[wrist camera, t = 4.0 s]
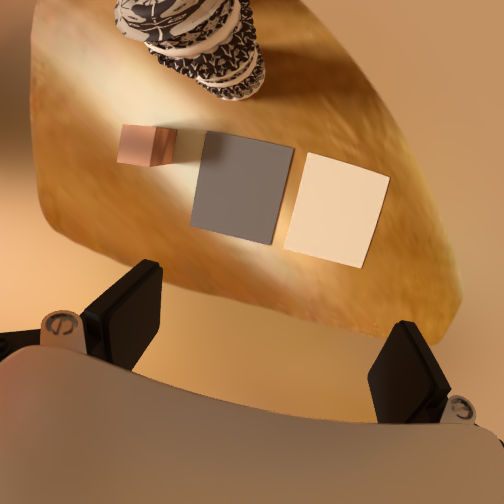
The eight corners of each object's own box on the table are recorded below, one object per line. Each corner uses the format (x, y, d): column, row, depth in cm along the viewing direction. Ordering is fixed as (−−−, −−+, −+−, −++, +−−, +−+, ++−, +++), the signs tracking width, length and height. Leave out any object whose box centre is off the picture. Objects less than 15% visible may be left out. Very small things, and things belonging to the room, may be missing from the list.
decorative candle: (282, 70, 32) (270, -39, 9) (236, 116, 35) (154, 66, 12) (233, 34, 31) (168, -73, 8) (190, 79, 34) (75, 16, 11)
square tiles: (207, 131, 36) (207, 130, 36) (389, 177, 35) (389, 177, 35) (190, 225, 41) (189, 226, 41) (360, 267, 40) (360, 268, 40)
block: (147, 126, 37) (122, 124, 31) (177, 130, 37) (156, 127, 30) (142, 159, 39) (116, 161, 32) (171, 163, 39) (149, 167, 32)
